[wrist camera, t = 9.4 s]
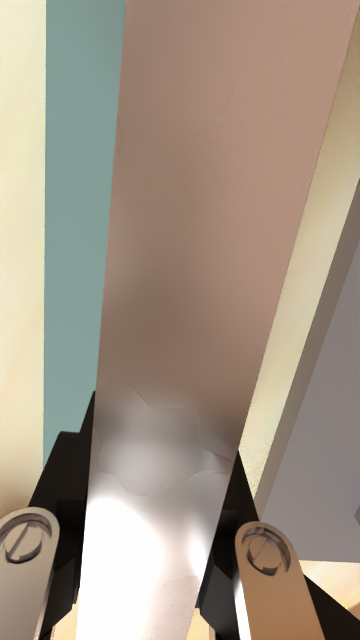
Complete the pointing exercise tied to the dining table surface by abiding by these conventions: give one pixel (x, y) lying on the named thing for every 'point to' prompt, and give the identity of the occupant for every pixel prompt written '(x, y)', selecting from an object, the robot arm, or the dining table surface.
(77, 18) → the teal mat
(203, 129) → the steel rail
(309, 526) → the rail stand
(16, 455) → the dining table surface
